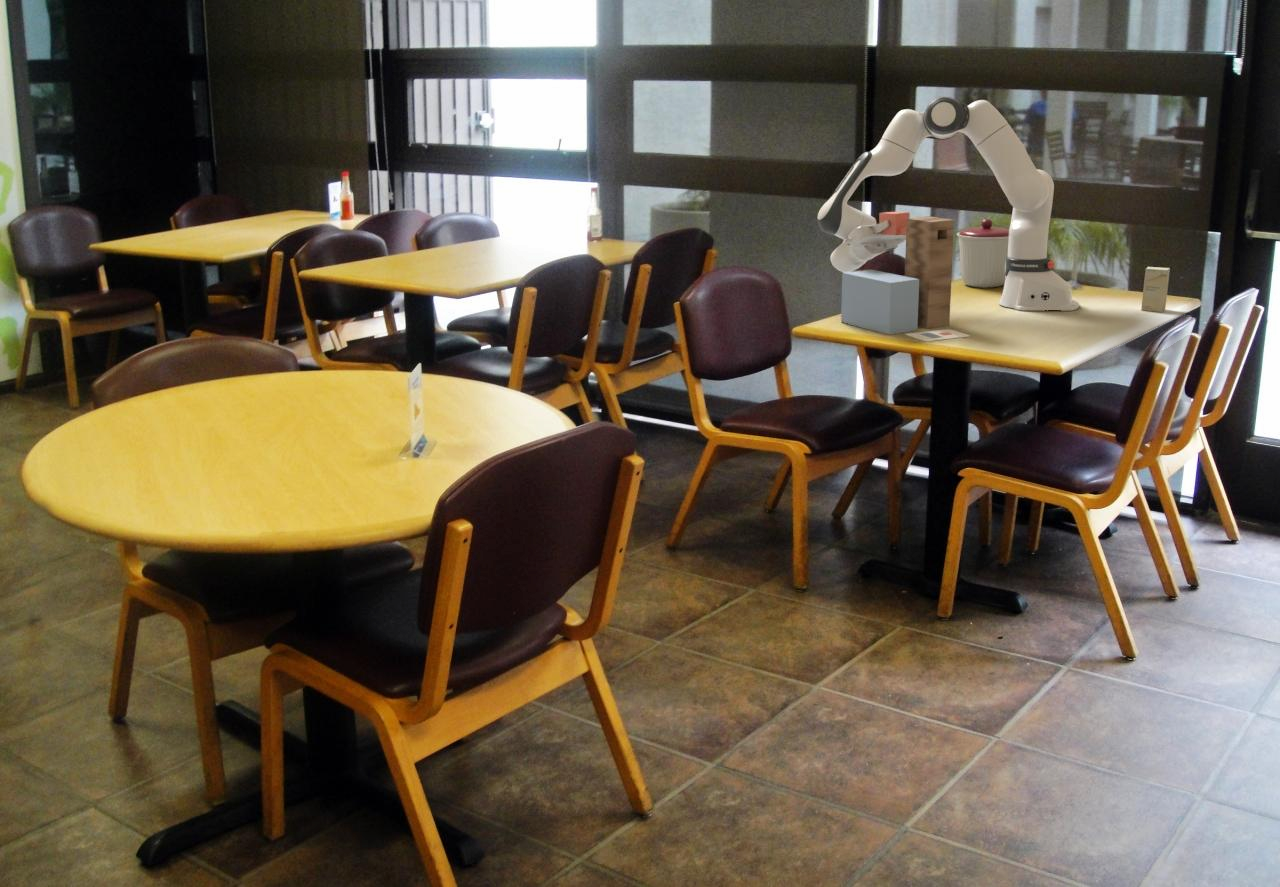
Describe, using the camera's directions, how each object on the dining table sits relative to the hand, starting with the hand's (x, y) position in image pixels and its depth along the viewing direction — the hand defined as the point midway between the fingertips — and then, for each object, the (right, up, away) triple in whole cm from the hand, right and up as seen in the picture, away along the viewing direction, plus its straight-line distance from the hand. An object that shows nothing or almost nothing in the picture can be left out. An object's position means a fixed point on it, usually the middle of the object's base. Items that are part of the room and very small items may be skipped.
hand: (897, 221), depth 385 cm
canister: (+38, -12, +54) cm, 67 cm away
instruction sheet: (+7, -33, -18) cm, 39 cm away
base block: (-6, -30, -5) cm, 31 cm away
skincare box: (+75, -24, +10) cm, 80 cm away
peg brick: (+2, -4, -3) cm, 6 cm away
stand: (+7, -29, -3) cm, 30 cm away
